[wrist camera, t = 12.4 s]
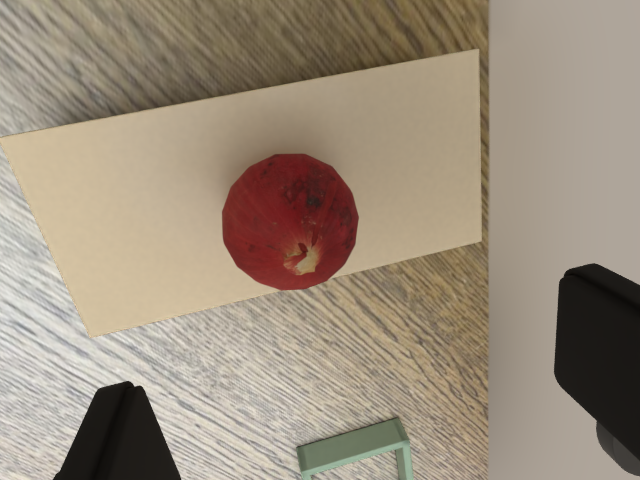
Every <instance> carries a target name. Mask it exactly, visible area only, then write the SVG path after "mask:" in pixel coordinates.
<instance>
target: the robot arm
mask: <svg viewBox="0 0 640 480" xmlns="http://www.w3.org/2000/svg"><path fill="white" fill-rule="evenodd" d="M554 374H555V377H556V380H557V382H558V383H559V385H560V386H561V387H562V388H563V389H564V390H565V391H566V392H567V393H568V394H569V395H570V396H571V397H572V398H573V399H574V400H575V401H576V402H577V403H579V404H580V405H581V406H582V407H583V408H584V409H585V410H586V411H587V412H588V413H589V414H590V415H591V416H592V417H593V418H595V419H596V420H597V421H598V422H599V423H600V424H601V425H602V426H603V427H604V428H605V429H606V430H607V431H608V432H609V433H611V434H612V435H613V436H614V437H615V438H616V439H617V440H618V441H619V442H620V443H621V444H622V445H623V446H624V447H625V448H627V449H628V450H629V451H630V452H631V453H632V454H633V455H634V456H635V457H636V458H637V459H638V460H639V461H640V285H638V284H636V283H634V282H633V281H631V280H629V279H627V278H625V277H623V276H621V275H619V274H617V273H615V272H613V271H610V270H609V269H606V268H604V267H602V266H600V265H598V264H595V263H594V264H588V265H584V266H580V267H576V268H572V269H569V270H567V271H566V272H565V274H564V277H563V278H562V279H561V280H560V282H559V294H558V312H557V330H556V348H555V364H554ZM53 480H181V477H180V474H179V472H178V470H177V467H176V465H175V462H174V460H173V458H172V455H171V453H170V450H169V448H168V446H167V443H166V441H165V438H164V436H163V434H162V431H161V429H160V426H159V424H158V422H157V419H156V417H155V414H154V412H153V410H152V407H151V405H150V402H149V400H148V398H147V395H146V393H145V390H144V389H143V387H142V386H136V387H134V385H133V384H132V383H131V382H130V381H126V382H122V383H118V384H114V385H110V386H106V387H102V388H100V389H98V390H97V392H96V393H95V395H94V397H93V400H92V402H91V404H90V406H89V408H88V411H87V413H86V415H85V417H84V419H83V421H82V424H81V426H80V428H79V430H78V432H77V435H76V437H75V439H74V441H73V443H72V446H71V448H70V450H69V452H68V454H67V457H66V459H65V461H64V463H63V465H62V468H61V470H60V472H58V473H57V474H56V475H55V477H54V479H53Z"/></svg>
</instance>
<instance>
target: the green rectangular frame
mask: <svg viewBox="0 0 640 480" xmlns="http://www.w3.org/2000/svg"><path fill="white" fill-rule="evenodd" d="M296 450H297V455H298V461H299V466H300V472H301V476H302V479H303V480H312V476H311V475H313V474H317V473H320V472H323V471H326V470H330V469H333V468H336V467H339V466H343V465H346V464H349V463H353V462H356V461H359V460H362V459H366V458H369V457H372V456H375V455H379V454H382V453H385V452H389V451H392V450H395V451H396V458H397V466H398V474H399V480H414V477H413V468H412V459H411V450H410V441H409V438H408V436H407V434H406V432H405V430H404V428H403V426H402V424H401V422H400V420H399V418H396V419H392V420H389V421H386V422H382V423H379V424H376V425H372V426H369V427H365V428H362V429H359V430H355V431H352V432H349V433H345V434H342V435H338V436H335V437H332V438H328V439H325V440H322V441H318V442H315V443H311V444H308V445H305V446H301V447H297V448H296Z"/></svg>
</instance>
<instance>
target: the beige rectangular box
mask: <svg viewBox="0 0 640 480" xmlns="http://www.w3.org/2000/svg"><path fill="white" fill-rule="evenodd" d="M0 144H1V146H2V149H3V151H4V153H5V155H6V157H7V159H8V162H9V164H10V166H11V168H12V170H13V172H14V175H15V177H16V179H17V181H18V183H19V185H20V188H21V190H22V192H23V194H24V196H25V198H26V201H27V203H28V205H29V207H30V209H31V211H32V214H33V216H34V218H35V220H36V222H37V224H38V226H39V229H40V231H41V233H42V235H43V237H44V239H45V242H46V244H47V246H48V248H49V250H50V252H51V255H52V257H53V259H54V261H55V263H56V265H57V268H58V270H59V272H60V274H61V276H62V278H63V281H64V283H65V285H66V287H67V289H68V291H69V294H70V296H71V298H72V300H73V302H74V304H75V307H76V309H77V311H78V313H79V315H80V317H81V320H82V322H83V324H84V326H85V328H86V330H87V333H88V335H89V337H90V338H93V337H97V336H101V335H105V334H109V333H113V332H117V331H121V330H125V329H129V328H134V327H138V326H142V325H146V324H150V323H154V322H158V321H162V320H166V319H170V318H174V317H178V316H182V315H186V314H190V313H194V312H198V311H202V310H206V309H210V308H214V307H218V306H222V305H226V304H231V303H235V302H239V301H243V300H247V299H251V298H255V297H259V296H263V295H267V294H271V293H275V292H279V291H283V290H279V289H276V288H273V287H270V286H266V285H263V284H260V283H258V282H256V281H255V280H253V279H252V278H251V277H250V276H248V275H247V274H246V273H245V272H243V271H242V270H241V269H239V268H238V267H237V266H236V264H235V262H234V261H233V259H232V257H231V255H230V254H229V252H228V250H227V248H226V246H225V245H224V242H223V235H222V210H223V207H224V204H225V202H226V199H227V196H228V193H229V190H230V188H231V186H232V185H233V184H234V183H235V182H236V181H237V179H238V178H239V177H240V176H241V175H242V174H243V173H244V172H245V171H246V170H247V168H248V167H249V166H252V165H254V164H256V163H258V162H260V161H262V160H264V159H266V158H268V157H270V156H272V155H274V154H307V155H309V156H311V157H313V158H316V159H318V160H320V161H322V162H324V163H326V164H328V165H331V166H333V168H334V169H335V170H336V171H337V173H338V174H339V175H340V176H341V178H342V179H343V180H344V182H345V183H346V184H347V185H348V187H349V188H350V190H351V191H352V193H353V197H354V201H355V204H356V208H357V212H358V216H359V221H358V227H357V236H356V244H355V246H354V248H353V250H352V252H351V254H350V256H349V258H348V260H347V261H346V263H345V265H344V266H343V267H342V268H341V269H340V270H338V271H337V272H336V273H335V274H334V275H333V276H332V277H331V278H329V279H332V278H336V277H340V276H344V275H348V274H352V273H356V272H360V271H364V270H368V269H372V268H376V267H380V266H384V265H388V264H392V263H396V262H400V261H404V260H408V259H412V258H416V257H420V256H425V255H429V254H433V253H437V252H441V251H445V250H449V249H453V248H457V247H461V246H465V245H469V244H473V243H477V242H481V241H482V214H481V146H480V78H479V49H472V50H466V51H461V52H455V53H450V54H445V55H439V56H434V57H428V58H423V59H418V60H412V61H407V62H401V63H396V64H391V65H385V66H380V67H374V68H369V69H364V70H358V71H353V72H347V73H342V74H337V75H331V76H326V77H320V78H315V79H310V80H304V81H299V82H293V83H288V84H283V85H277V86H272V87H266V88H261V89H256V90H250V91H245V92H239V93H234V94H229V95H223V96H218V97H212V98H207V99H202V100H196V101H191V102H185V103H180V104H175V105H169V106H164V107H158V108H153V109H148V110H142V111H137V112H131V113H126V114H121V115H115V116H110V117H104V118H99V119H94V120H88V121H83V122H77V123H72V124H67V125H61V126H56V127H50V128H45V129H40V130H34V131H29V132H23V133H18V134H13V135H7V136H3V137H0Z"/></svg>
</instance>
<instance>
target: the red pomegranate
mask: <svg viewBox="0 0 640 480" xmlns="http://www.w3.org/2000/svg"><path fill="white" fill-rule="evenodd" d="M358 221H359V216H358V212H357V208H356V204H355V201H354V197H353V193H352V191H351V190H350V188H349V187H348V185H347V184H346V183H345V182H344V180H343V179H342V178H341V176H340V175H339V174H338V173H337V171H336V170H335V169H334V168H333V166H331V165H328V164H326V163H324V162H322V161H320V160H318V159H316V158H313V157H311V156H309V155H307V154H274V155H272V156H270V157H268V158H266V159H264V160H262V161H260V162H258V163H256V164H254V165H252V166H249V167H248V168H247V170H246V171H245V172H244V173H243V174H242V175H241V176H240V177H239V178H238V179H237V181H236V182H235V183H234V184H233V185H232V186H231V188H230V190H229V193H228V196H227V199H226V202H225V204H224V207H223V210H222V235H223V242H224V245H225V246H226V248H227V250H228V252H229V254H230V255H231V257H232V259H233V261H234V262H235V264H236V266H237V267H238V268H239V269H241V270H242V271H243V272H245V273H246V274H247V275H248V276H250V277H251V278H252V279H253V280H255V281H256V282H258V283H260V284H263V285H266V286H270V287H273V288H276V289H279V290H298V289H307V288H309V287H312V286H314V285H317V284H320V283H322V282H325V281H327V280H328V279H329V278H331V277H332V276H333V275H334V274H335V273H336V272H337V271H338V270H340V269H341V268H342V267H343V266H344V265H345V263H346V261H347V260H348V258H349V256H350V254H351V252H352V250H353V248H354V246H355V244H356V236H357V227H358Z"/></svg>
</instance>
